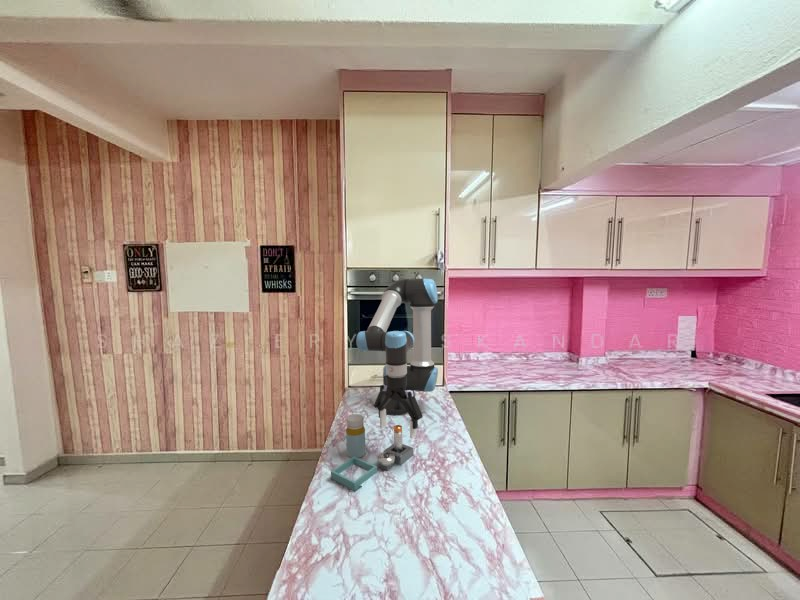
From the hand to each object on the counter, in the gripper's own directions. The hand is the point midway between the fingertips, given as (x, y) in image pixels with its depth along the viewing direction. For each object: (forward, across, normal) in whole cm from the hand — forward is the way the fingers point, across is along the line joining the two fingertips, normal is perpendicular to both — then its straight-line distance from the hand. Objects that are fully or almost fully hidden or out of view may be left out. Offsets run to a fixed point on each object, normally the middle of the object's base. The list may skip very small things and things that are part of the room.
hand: (397, 431), depth 125 cm
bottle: (+11, -15, -6) cm, 20 cm away
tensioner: (+11, 0, -3) cm, 11 cm away
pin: (+10, 0, 0) cm, 10 cm away
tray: (+11, -6, -17) cm, 21 cm away
